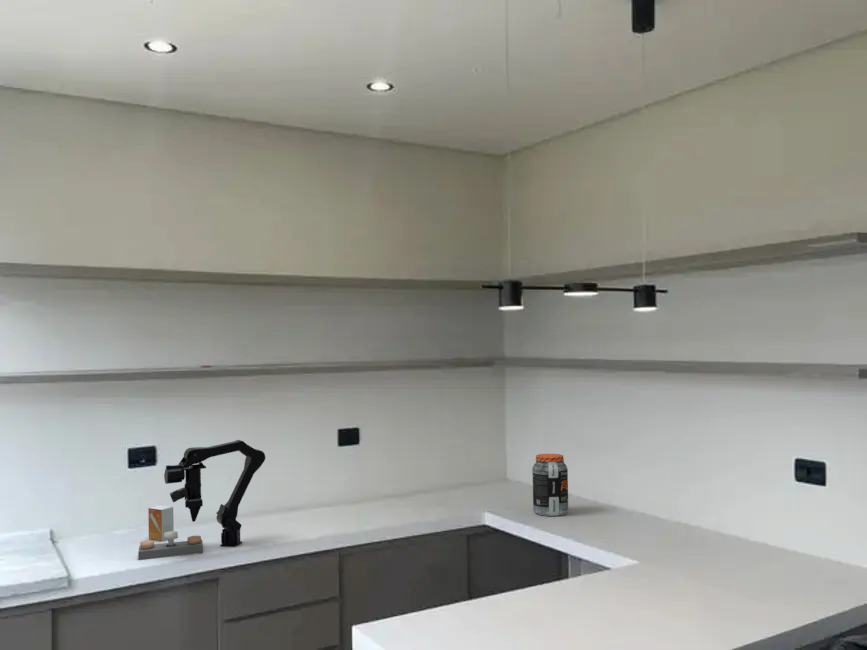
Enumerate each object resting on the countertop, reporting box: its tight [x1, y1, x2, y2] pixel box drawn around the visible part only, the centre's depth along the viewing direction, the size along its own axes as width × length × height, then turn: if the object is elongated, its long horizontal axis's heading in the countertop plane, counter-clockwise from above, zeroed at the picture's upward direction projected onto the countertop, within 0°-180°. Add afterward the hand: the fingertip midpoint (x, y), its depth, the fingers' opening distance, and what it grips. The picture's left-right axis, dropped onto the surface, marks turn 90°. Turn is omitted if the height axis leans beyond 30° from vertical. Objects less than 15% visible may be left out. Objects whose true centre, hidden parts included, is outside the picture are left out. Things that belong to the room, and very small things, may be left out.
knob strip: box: [137, 538, 204, 561], centre depth 290 cm, size 23×9×3 cm, turn 109°
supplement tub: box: [532, 453, 569, 517], centre depth 341 cm, size 16×16×26 cm
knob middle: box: [164, 530, 179, 547], centre depth 290 cm, size 5×5×5 cm
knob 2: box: [186, 535, 202, 544], centre depth 292 cm, size 5×5×5 cm
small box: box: [147, 504, 175, 542], centre depth 312 cm, size 8×6×13 cm
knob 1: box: [139, 539, 155, 549], centre depth 287 cm, size 5×5×5 cm
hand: (193, 521), depth 293 cm, fingers closed
